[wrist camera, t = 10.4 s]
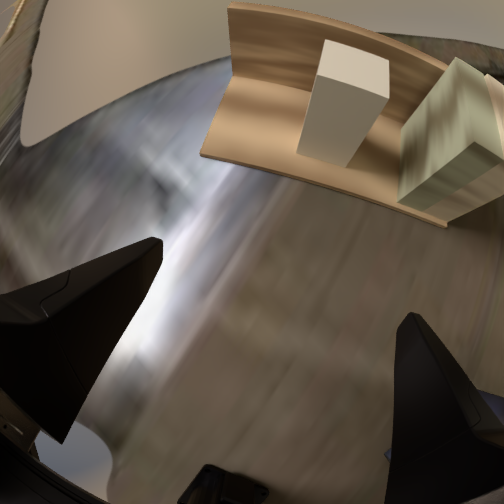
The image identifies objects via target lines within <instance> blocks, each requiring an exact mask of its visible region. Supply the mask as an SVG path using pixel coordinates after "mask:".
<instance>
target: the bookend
mask: <svg viewBox="0 0 504 504" xmlns="http://www.w3.org/2000/svg"><path fill="white" fill-rule="evenodd" d="M388 100H389V60H387V59H384V58H381V57H379V56H376V55H373V54H371V53H368V52H365V51H362V50H359V49H356V48H353V47H350V46H347V45H344V44H340V43H337V42H334V41H330V40H326V39H325V42H324V46H323V50H322V54H321V58H320V62H319V65H318V69H317V73H316V77H315V81H314V85H313V88H312V92H311V96H310V100H309V104H308V107H307V111H306V115H305V119H304V123H303V127H302V131H301V135H300V139H299V143H298V147H297V151H296V153H297V154H301V155H304V156H308V157H311V158H315V159H318V160H322V161H325V162H328V163H332V164H335V165H338V166H341V167H344V168H345V167H346V166H347V164H348V163H349V161H350V160H351V158H352V157H353V155H354V154H355V152H356V151H357V149H358V147H359V146H360V144H361V143H362V141H363V140H364V138H365V137H366V135H367V133H368V132H369V130H370V129H371V127H372V126H373V124H374V122H375V121H376V119H377V118H378V116H379V114H380V113H381V111H382V110H383V108H384V106H385V105H386V103H387V102H388Z"/></svg>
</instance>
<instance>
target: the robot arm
mask: <svg viewBox="0 0 504 504" xmlns="http://www.w3.org/2000/svg"><path fill="white" fill-rule="evenodd" d="M162 261H163V241H162V240H161V239H159V238H155V237H149V238H147V239H144V240H141V241H139V242H136V243H134V244H131V245H128V246H126V247H123V248H121V249H118V250H116V251H113V252H111V253H108V254H106V255H103V256H101V257H98V258H96V259H93V260H91V261H89V262H86V263H84V264H81V265H79V266H77V267H74V268H72V269H71V270H67V271H65V272H62V273H60V274H58V275H55V276H53V277H50V278H48V279H45V280H42V281H40V282H37V283H34V284H31V285H28V286H26V287H23V288H20V289H17V290H14V291H12V292H9V293H6V294H1V295H0V504H110V503H108V502H106V501H104V500H102V499H100V498H98V497H96V496H94V495H93V494H91V493H89V492H87V491H85V490H84V489H82V488H80V487H78V486H77V485H75V484H73V483H72V482H70V481H68V480H67V479H65V478H64V477H62V476H61V475H59V474H57V473H56V472H55V471H53V470H52V469H50V468H49V467H47V466H46V465H45V464H43V463H41V462H40V460H39V456H38V453H37V450H36V446H35V442H34V441H35V439H36V437H37V435H38V433H39V432H40V430H41V431H42V432H44V433H45V434H46V435H48V436H49V437H51V438H52V439H54V440H55V441H57V442H58V443H60V444H63V442H64V440H65V438H66V436H67V434H68V432H69V430H70V428H71V426H72V424H73V422H74V421H75V419H76V417H77V415H78V413H79V411H80V409H81V407H82V405H83V403H84V401H85V400H86V398H87V395H88V394H89V392H90V390H91V388H92V386H93V385H94V383H95V381H96V379H97V377H98V376H99V374H100V372H101V370H102V369H103V367H104V365H105V363H106V362H107V360H108V358H109V356H110V355H111V353H112V351H113V350H114V348H115V346H116V345H117V343H118V341H119V340H120V338H121V336H122V335H123V333H124V331H125V330H126V328H127V326H128V325H129V323H130V321H131V320H132V318H133V317H134V315H135V313H136V312H137V310H138V309H139V307H140V305H141V304H142V302H143V300H144V299H145V297H146V295H147V293H148V291H149V289H150V287H151V285H152V283H153V281H154V278H155V276H156V274H157V272H158V270H159V268H160V266H161V264H162ZM469 380H470V379H469V378H468V376H467V375H466V374H465V372H464V371H463V369H462V368H461V367H460V365H459V364H458V363H457V361H456V360H455V358H454V357H453V356H452V354H451V353H450V352H449V351H448V349H447V348H446V347H445V345H444V344H443V343H442V341H441V340H440V339H439V338H438V336H437V335H436V334H435V332H434V331H433V330H432V329H431V327H430V326H429V325H428V324H427V322H426V321H425V320H424V319H423V318H422V316H421V315H420V314H417V313H413V312H410V313H408V314H407V316H406V317H405V319H404V320H403V321H402V323H401V324H400V325H399V327H398V329H397V333H396V350H395V364H394V416H393V434H392V448H391V458H390V467H389V472H390V473H389V475H388V482H387V489H386V496H385V502H384V504H504V425H503V424H502V423H501V421H500V420H499V419H498V417H497V416H496V415H495V413H494V412H493V411H492V409H491V408H490V407H489V405H488V404H487V403H486V401H485V400H484V399H483V397H482V396H481V395H480V393H479V392H478V390H477V389H476V388H475V386H474V385H473V383H472V382H471V381H469ZM206 469H210V471H208V470H206ZM261 492H266V493H261ZM268 495H269V490H268V489H267V488H265V487H262V486H259V485H257V484H254V483H253V482H251V481H248V480H246V479H243V478H241V477H238V476H236V475H234V474H231V473H227V472H225V471H223V470H220V469H218V468H216V467H214V466H212V465H209V464H206V465H204V466H203V467H202V469H201V470H200V471H199V473H198V474H197V475H196V477H195V478H194V479H193V481H192V482H191V483H190V485H189V486H188V487H187V489H186V490H185V491H184V493H183V494H182V495H181V497H180V498H179V499H178V502H177V504H261V503H262V502H263V501H264V500H265V499H266V498H267V496H268ZM182 502H184V503H182Z"/></svg>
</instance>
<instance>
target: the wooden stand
mask: <svg viewBox="0 0 504 504" xmlns="http://www.w3.org/2000/svg"><path fill="white" fill-rule="evenodd" d="M227 12H228V24H229V35H230V47H231V60H232V72H233V76H232V79H231V81H230V83H229V85H228V87H227V89H226V92H225V94H224V96H223V98H222V100H221V103H220V105H219V107H218V110H217V112H216V114H215V116H214V119H213V121H212V124H211V126H210V128H209V131H208V133H207V136H206V138H205V140H204V143H203V145H202V148H201V150H200V156H202V157H206V158H211V159H216V160H221V161H225V162H230V163H234V164H239V165H243V166H247V167H251V168H255V169H259V170H264V171H267V172H271V173H275V174H279V175H283V176H287V177H290V178H294V179H298V180H301V181H305V182H308V183H312V184H315V185H319V186H322V187H326V188H329V189H332V190H336V191H339V192H342V193H345V194H348V195H352V196H355V197H358V198H361V199H364V200H367V201H370V202H373V203H376V204H379V205H382V206H385V207H387V208H390V209H393V210H396V211H399V212H401V213H404V214H407V215H410V216H412V217H415V218H418V219H420V220H423V221H425V222H428V223H431V224H433V225H436V226H438V227H441V228H443V229H444V228H446V227H447V222H449V221H451V220H453V219H455V218H458V217H460V216H462V215H464V214H466V213H468V212H470V211H472V210H474V209H476V208H478V207H480V206H482V205H484V204H486V203H488V202H490V201H492V200H494V199H496V198H498V197H500V196H502V195H504V85H502V84H501V83H500V82H498V81H497V80H495V79H494V78H493V77H491V76H490V75H488V74H487V75H486V76H485V77H484V75H483V74H482V73H481V72H479V71H478V70H476V69H475V68H473V67H472V66H470V65H468V64H467V63H465V62H464V61H462V60H460V59H459V58H457V57H455V59H454V60H453V61H452V63H451V64H450V65H449V66H448V65H446V64H444V63H442V62H441V61H439V60H437V59H435V58H433V57H431V56H429V55H427V54H425V53H423V52H421V51H419V50H416V49H414V48H412V47H410V46H408V45H405V44H403V43H401V42H398V41H396V40H394V39H391V38H389V37H386V36H384V35H381V34H378V33H376V32H373V31H370V30H367V29H364V28H361V27H358V26H355V25H352V24H349V23H345V22H342V21H338V20H335V19H331V18H328V17H324V16H320V15H316V14H311V13H307V12H302V11H297V10H292V9H287V8H281V7H275V6H268V5H261V4H253V3H244V2H243V3H242V2H231V3H230V5H229V6H228V8H227ZM325 39H326V40H330V41H334V42H337V43H340V44H344V45H347V46H350V47H353V48H356V49H359V50H362V51H365V52H368V53H371V54H373V55H376V56H379V57H381V58H384V59H387V60H389V100H388V102H387V103H386V105H385V106H384V108H383V110H382V111H381V113H380V114H379V116H378V118H377V119H376V121H375V122H374V124H373V126H372V127H371V129H370V130H369V132H368V133H367V135H366V137H365V138H364V140H363V141H362V143H361V144H360V146H359V147H358V149H357V151H356V152H355V154H354V155H353V157H352V158H351V160H350V161H349V163H348V164H347V166H346V167H345V168H344V167H341V166H338V165H335V164H332V163H328V162H325V161H322V160H318V159H315V158H311V157H308V156H304V155H301V154H297V153H296V151H297V147H298V143H299V139H300V135H301V131H302V127H303V123H304V119H305V115H306V111H307V107H308V104H309V100H310V96H311V92H312V88H313V85H314V81H315V77H316V73H317V69H318V65H319V62H320V58H321V54H322V50H323V46H324V42H325Z"/></svg>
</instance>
